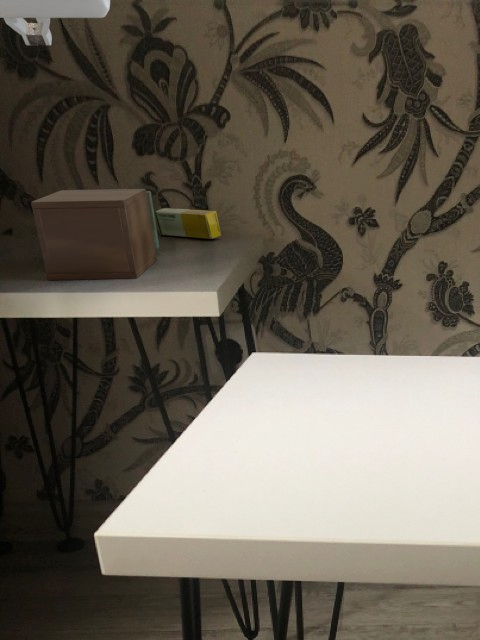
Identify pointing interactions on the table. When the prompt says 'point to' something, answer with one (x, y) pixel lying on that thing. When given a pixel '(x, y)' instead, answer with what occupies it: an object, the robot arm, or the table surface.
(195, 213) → the medication box
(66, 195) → the wooden box
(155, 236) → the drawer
